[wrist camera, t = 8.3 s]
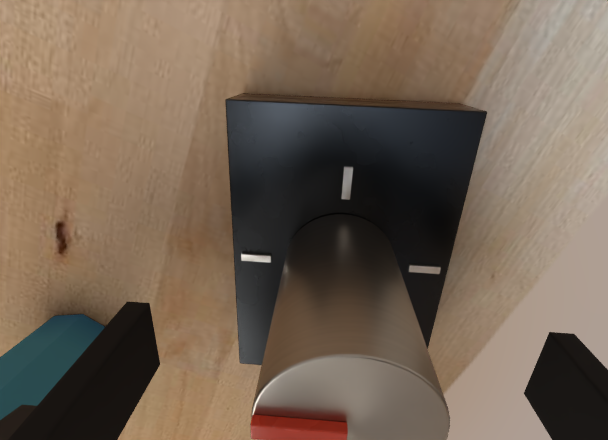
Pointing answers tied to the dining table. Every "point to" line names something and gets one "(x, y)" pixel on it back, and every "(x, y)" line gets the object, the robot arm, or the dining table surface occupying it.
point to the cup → (43, 359)
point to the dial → (346, 344)
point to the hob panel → (344, 189)
